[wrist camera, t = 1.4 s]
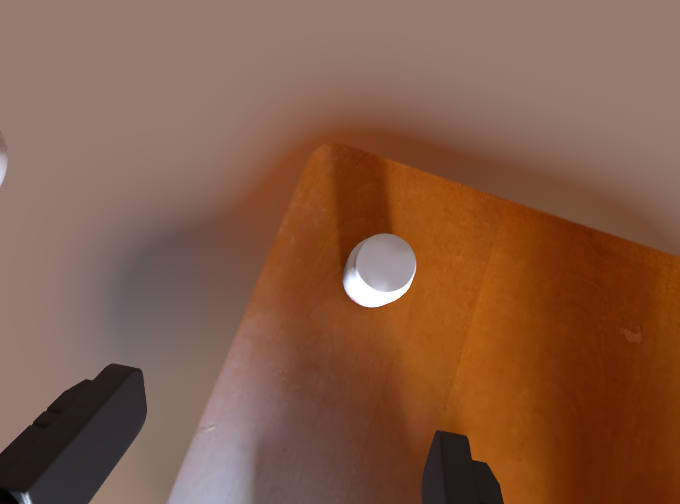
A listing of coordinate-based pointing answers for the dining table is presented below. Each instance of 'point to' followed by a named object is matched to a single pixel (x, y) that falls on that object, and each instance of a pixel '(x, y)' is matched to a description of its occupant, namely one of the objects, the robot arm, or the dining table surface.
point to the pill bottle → (379, 270)
